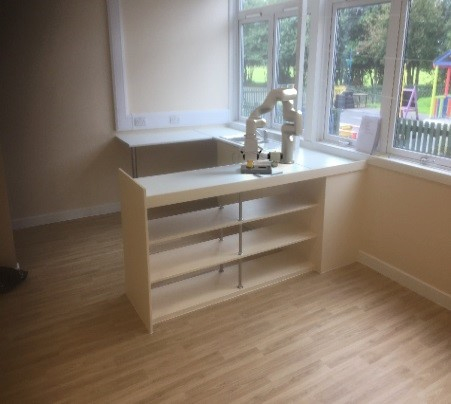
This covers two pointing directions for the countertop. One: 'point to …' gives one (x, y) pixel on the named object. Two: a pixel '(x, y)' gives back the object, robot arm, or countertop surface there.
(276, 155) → the pneumatic valve
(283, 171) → the countertop surface
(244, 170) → the jig
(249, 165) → the bushing
